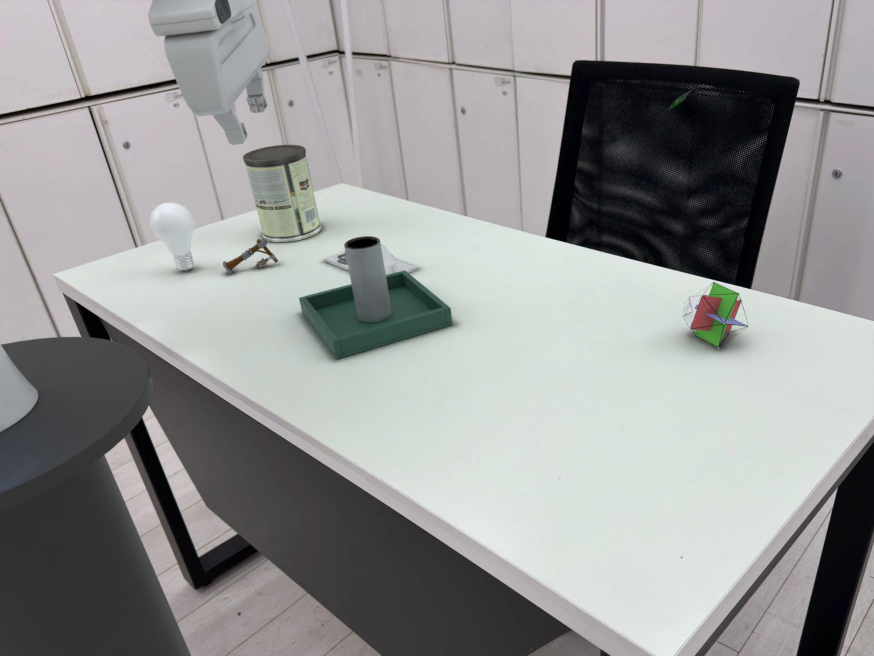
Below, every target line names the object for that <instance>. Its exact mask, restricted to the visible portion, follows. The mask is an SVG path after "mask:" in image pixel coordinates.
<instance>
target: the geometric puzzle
mask: <svg viewBox="0 0 874 656" xmlns="http://www.w3.org/2000/svg"><path fill="white" fill-rule="evenodd" d="M708 286H709V287H710V290H709V287H708ZM707 287H708V288H707ZM706 288H707V289H706V290H705V288H703V289H702V291H704V290H705V291H704V292H703V294H700V293H701V291H699V292H698V294H700V295H697V294H696V295H691V296H688V298H687V299H686V300H685V302H684V303H683V304H684V305H683V309H682V318H683V320H684V322H685V324H686V325H687V327H688V328H689V330H690V331H692V332H694V333H693V335H694V336H696V337H698V338H700V339H702V340H703V341H705V342H707V343H709V344H711V345H713V346H714V347H716V348H717V349H720V347H721V346H723V345H725V344H726V342H725V340H726V339H727V337H728V336H729V335H730V334H731V333H734V332H736V331H741V332H743V331H744V330H746V329H747V328H749V327H750V325H748V324H749V323H748V319H747V315H746V312H745V308H744V305H743V300H742V298H741V295H740V294H741V292H737V291H735V290H733V289H731V288H728V287H726V286H724V285H722V284H720V283H718V282H716V281H714V280H713V281H712V282H711V283H710V284H709V285H707V286H706ZM708 290H709V293H708V295H707V294H705V293H706V292H707V291H708ZM740 307H742V310H743V313H744V317H745V320H746V322H747V324H746V323H743V322H742V321H739V320H737V319H736V317H737V314H738V311H739V309H740ZM694 310H695V313H694V316H693V312H694ZM692 318H693V319H692ZM733 326H739V327H741V328H739V329H736V330H733V331H731V330H732V327H733ZM694 330H695V331H694ZM724 334H727V335H726V336H725V337H724ZM739 334H740V332H738V333H737V334H735V335H734V337H736V336H737V335H739ZM723 337H724V339H723ZM732 339H733V337H732V338H730V339H728V340H727V342H729V341H730V340H732Z"/></svg>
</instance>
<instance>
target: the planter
mask: <svg viewBox="0 0 874 656" xmlns="http://www.w3.org/2000/svg"><path fill="white" fill-rule="evenodd" d="M381 244H382V243H381V240H380V238H379V237H376V236H371V235H365V236H364V235H363V236H356V237H353V238H350V239H349V240H347V241H346V242H345V243H344V245H343V247H344V252H346V258H347V263H348V268H349V271H348V273H349V278H350V284H352V290H353V295H354V300H355V306H356V311H357V316H358V319H359V320H360V321H362V322H367V323H374V322H379V321H383V320H385V319H387V318H389V317H390V316H391V314H392V312H391V304H390V298H389V292H388V286H387V279H386V273H385V267H384V261H383V255H382V248H381Z"/></svg>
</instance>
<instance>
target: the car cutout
mask: <svg viewBox="0 0 874 656" xmlns="http://www.w3.org/2000/svg"><path fill="white" fill-rule="evenodd" d="M381 248H382V255H383V261H384V267H385V273H386V275H389V274H392V273H396V272H400V271H404V270H405V271H407V272H408V273H409V274H410V273H412V272H415V271H417V270H418V269H417V266H414V265H412V264H409V263H407V262H403V261H401V260H398V259H395V256H394V255H393V254H392V253H390V252H389V249H388V247H387V246H386V245H385V244H383V243H381ZM324 262H325V263H328V264H330V265H333V266H334V267H338V268H340V269H343V270H345V271H348V272H349V268H348V263H347V258H346V252H345V251H341V252H340V253H336V254H334V255H331V256H329V257H326V258H324Z"/></svg>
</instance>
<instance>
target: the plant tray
mask: <svg viewBox="0 0 874 656" xmlns="http://www.w3.org/2000/svg"><path fill="white" fill-rule="evenodd" d="M386 279H387V286H388V292H389V298H390V304H391V312H392V314H391V316H390V317H389V318H387V319H385V320H383V321H379V322H374V323H367V322H362V321H360V320H359V319H358V316H357V311H356V306H355V300H354V295H353V290H352V284H351V283H350V284H347V285H342V286H338V287H335V288H331V289H327V290H323V291H319V292H316V293H315V292H314V293H312V294H311V293H310V294H308V295H304V296H300V297H298V301H299V306H300V309H301V314H302V315H303V317H304V318H305V319H306V320H307V322H308V324H310V326H311V327H312V329H313V330H314V331H315V332H316V334H317V335H318V337H319V338H320V339H321V340H322V341H323V343H324V344H325V346H326V347H327V348H328V349H329V351H330V352H331V354H332V355H333V356H334V358H335V359H336V360H339V359H344V358H347V357H350V356H353V355H357V354H360V353H364V352H367V351H370V350H373V349H377V348H380V347H383V346H387V345H390V344H394V343H397V342H400V341H404V340H407V339H411V338H414V337H418V336H421V335H425V334H427V333H431V332H434V331H438V330H441V329H445V328H447V327H450V326H453V315H452V309H451V307H450V306H449V305H448V304H447V303H445V302H444V301H443V300H442V299H440V298H439V297H438V296H437V295H436V294H435V293H433V292H432V291H431V290H430V289H429V288H428V287H426V285H425V286H424V284H423V283H421V282H420V281H419V280H417V279H416V278H415V277H414V276H413V275H411V274H410V273H408V272H407V271H405V270H404V271H400V272H396V273H392V274H389V275H386Z"/></svg>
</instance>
